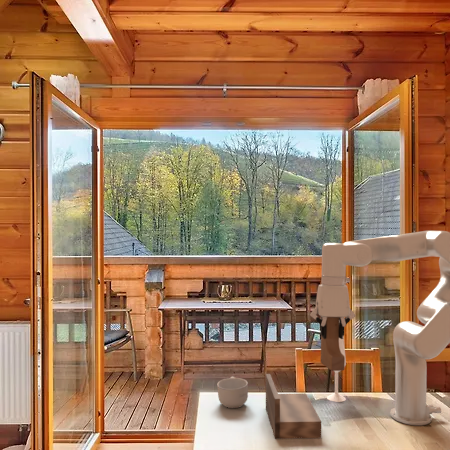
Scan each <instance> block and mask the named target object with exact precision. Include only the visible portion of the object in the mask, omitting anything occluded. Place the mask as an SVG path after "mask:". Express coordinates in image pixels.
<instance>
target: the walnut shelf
mask: <svg viewBox="0 0 450 450" xmlns="http://www.w3.org/2000/svg"><path fill="white" fill-rule="evenodd" d="M272 377H273V376H272V375H271V373H266V374H265V410H266V414H267V417H268V421H269V425H270V426H271V430H272V433H273V438H274V439H275V440H277V439H278V440H281V439H282V440H283V439H286V440H287V439H288V440H289V439H322V420H321V418H320V416H319V414H318V413H317V411H316V409H315V407H314V406H313V404H312V402H311V400H310V399H309V397H308V395H307V393H279V392H278V391H277V388H276V385H275V383H274V380H273V378H272Z"/></svg>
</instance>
